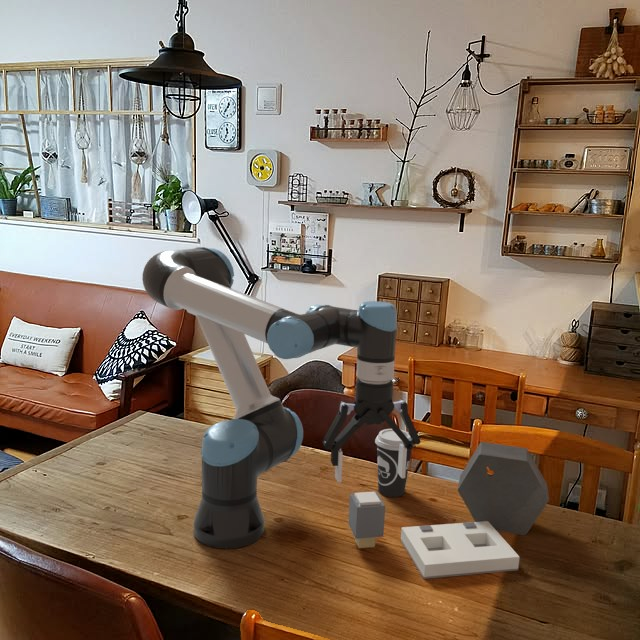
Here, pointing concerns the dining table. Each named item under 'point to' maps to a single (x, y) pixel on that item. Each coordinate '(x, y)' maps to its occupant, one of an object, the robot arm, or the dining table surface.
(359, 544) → the plug
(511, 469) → the grey hexagonal prism
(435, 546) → the socket plate
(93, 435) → the dining table surface
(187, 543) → the dining table surface
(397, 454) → the coffee cup
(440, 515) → the dining table surface
